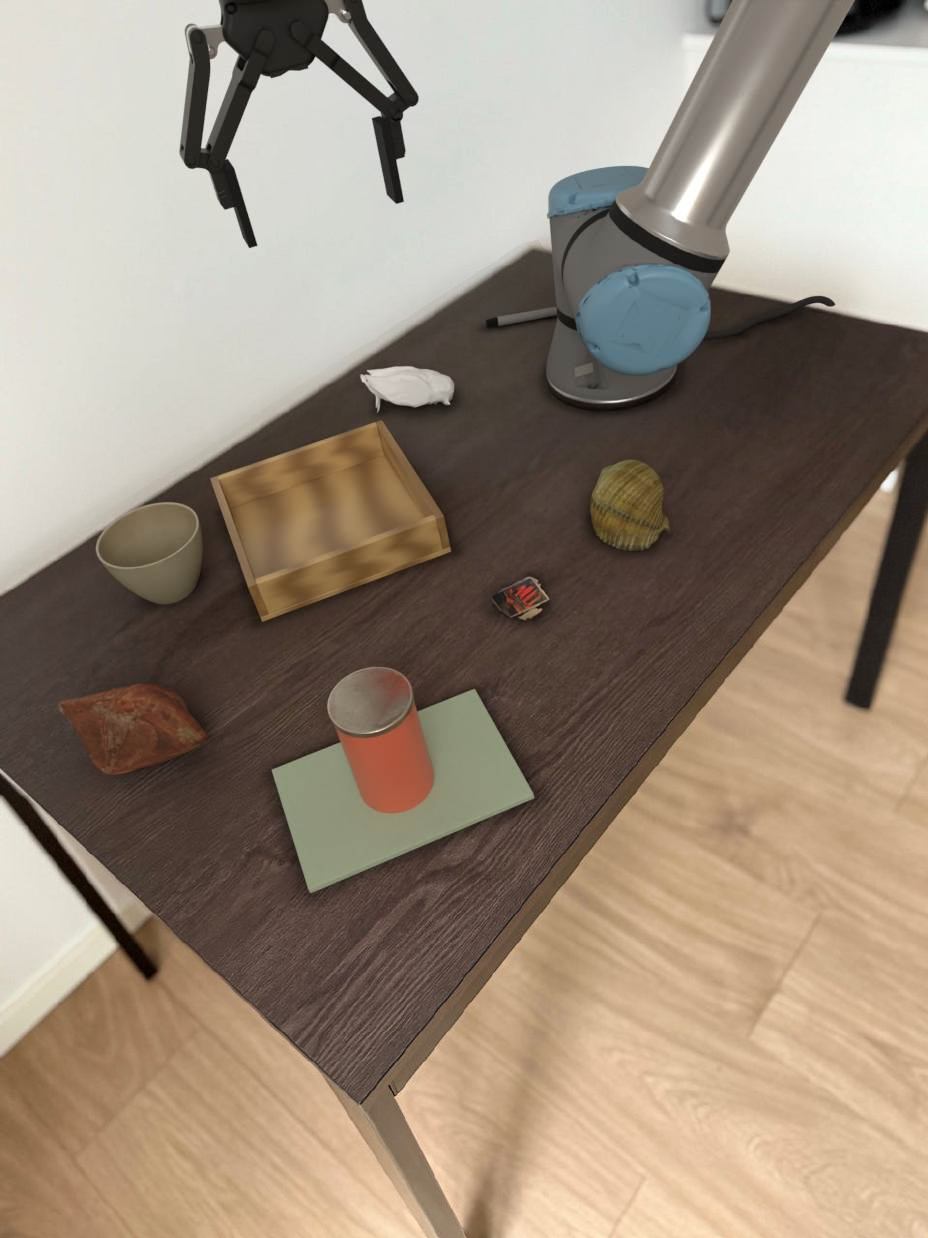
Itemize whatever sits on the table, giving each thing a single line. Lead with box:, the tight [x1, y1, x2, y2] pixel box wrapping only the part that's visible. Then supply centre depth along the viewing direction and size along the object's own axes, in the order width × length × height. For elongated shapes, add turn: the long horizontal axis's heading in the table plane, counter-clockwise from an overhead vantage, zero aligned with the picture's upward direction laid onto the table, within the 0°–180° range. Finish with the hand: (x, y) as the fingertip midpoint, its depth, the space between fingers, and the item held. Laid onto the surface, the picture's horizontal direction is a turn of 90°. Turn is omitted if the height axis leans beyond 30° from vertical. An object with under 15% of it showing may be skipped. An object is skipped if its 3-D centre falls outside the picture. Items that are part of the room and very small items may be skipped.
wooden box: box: [210, 419, 452, 623], centre depth 98 cm, size 20×20×5 cm
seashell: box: [589, 459, 671, 552], centre depth 92 cm, size 10×7×8 cm
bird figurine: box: [359, 365, 455, 413], centre depth 113 cm, size 5×7×10 cm
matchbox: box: [490, 576, 550, 621], centre depth 88 cm, size 5×5×1 cm
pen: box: [485, 306, 557, 328], centre depth 125 cm, size 1×16×1 cm, turn 95°
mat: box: [271, 688, 535, 894], centre depth 75 cm, size 18×12×1 cm, turn 112°
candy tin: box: [326, 666, 434, 813], centre depth 71 cm, size 6×6×10 cm
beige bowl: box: [95, 501, 204, 606], centre depth 94 cm, size 10×10×7 cm
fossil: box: [57, 682, 209, 776], centre depth 79 cm, size 13×8×10 cm
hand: (323, 220), depth 84 cm, fingers open, 13 cm apart
